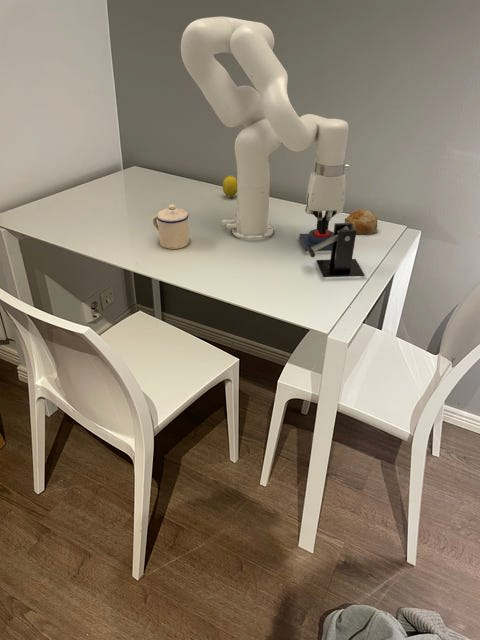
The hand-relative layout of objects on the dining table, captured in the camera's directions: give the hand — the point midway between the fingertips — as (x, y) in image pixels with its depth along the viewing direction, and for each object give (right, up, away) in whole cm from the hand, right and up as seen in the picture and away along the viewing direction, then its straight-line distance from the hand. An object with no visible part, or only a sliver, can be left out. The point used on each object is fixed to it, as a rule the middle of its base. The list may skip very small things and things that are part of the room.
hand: (321, 231), depth 143 cm
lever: (0, -6, -14) cm, 15 cm away
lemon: (-27, +18, +35) cm, 48 cm away
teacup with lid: (-44, -2, +5) cm, 45 cm away
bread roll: (+14, +3, +13) cm, 19 cm away
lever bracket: (+3, -12, -9) cm, 16 cm away
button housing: (0, -4, +3) cm, 5 cm away
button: (0, -1, +1) cm, 2 cm away
